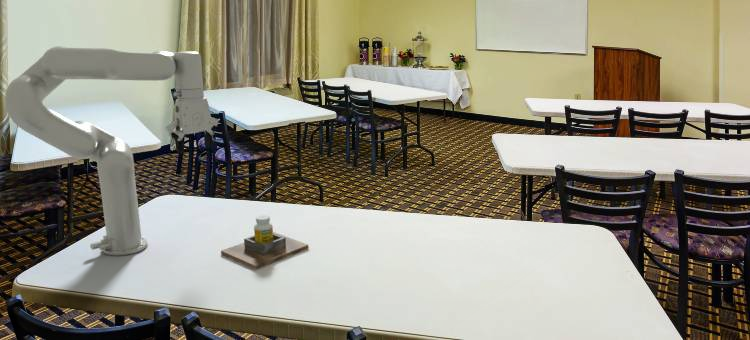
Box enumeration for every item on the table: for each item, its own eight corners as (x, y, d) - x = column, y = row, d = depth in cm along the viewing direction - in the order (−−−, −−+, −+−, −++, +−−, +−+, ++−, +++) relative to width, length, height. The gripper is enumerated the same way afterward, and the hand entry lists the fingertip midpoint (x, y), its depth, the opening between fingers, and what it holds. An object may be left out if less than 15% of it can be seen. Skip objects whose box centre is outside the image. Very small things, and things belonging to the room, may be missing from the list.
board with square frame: (255, 269, 164) (254, 255, 163) (221, 254, 174) (220, 241, 173) (308, 248, 179) (308, 235, 178) (274, 235, 189) (273, 223, 188)
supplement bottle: (266, 242, 180) (265, 212, 177) (277, 247, 176) (275, 217, 174) (251, 247, 176) (250, 217, 174) (262, 252, 173) (260, 221, 170)
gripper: (171, 98, 167) (176, 157, 171) (222, 92, 179) (226, 147, 184) (156, 95, 171) (162, 153, 176) (208, 90, 184) (212, 143, 189)
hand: (194, 150), depth 180 cm, fingers open, 9 cm apart
